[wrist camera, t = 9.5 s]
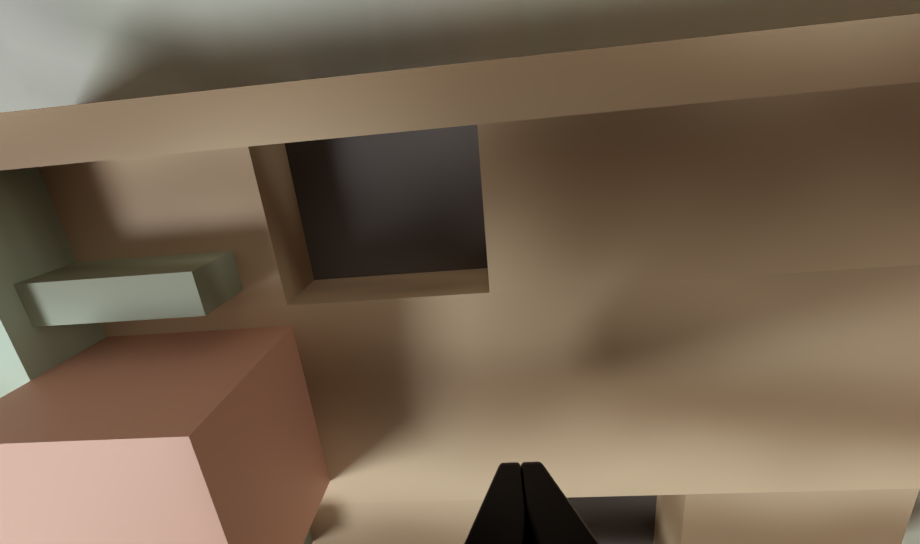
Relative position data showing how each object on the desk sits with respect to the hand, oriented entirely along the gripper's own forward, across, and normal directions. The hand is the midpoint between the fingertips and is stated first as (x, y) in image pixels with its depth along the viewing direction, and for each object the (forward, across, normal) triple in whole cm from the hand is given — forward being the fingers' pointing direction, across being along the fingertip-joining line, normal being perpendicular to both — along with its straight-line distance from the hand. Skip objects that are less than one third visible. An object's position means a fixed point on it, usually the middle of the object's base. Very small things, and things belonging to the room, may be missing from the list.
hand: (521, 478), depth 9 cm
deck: (+5, 0, 0) cm, 5 cm away
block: (+3, +8, 0) cm, 8 cm away
